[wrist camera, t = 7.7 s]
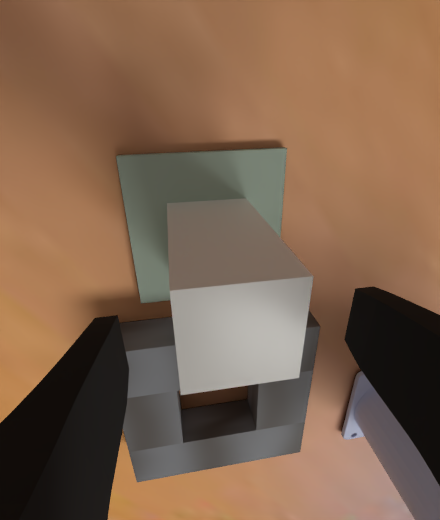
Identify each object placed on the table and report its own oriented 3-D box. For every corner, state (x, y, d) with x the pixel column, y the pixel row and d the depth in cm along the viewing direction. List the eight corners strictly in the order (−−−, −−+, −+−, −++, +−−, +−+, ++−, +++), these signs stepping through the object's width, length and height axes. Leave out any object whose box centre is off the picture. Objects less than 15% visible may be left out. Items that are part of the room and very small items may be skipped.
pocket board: (302, 301, 20) (320, 326, 18) (288, 421, 25) (299, 451, 23) (110, 324, 18) (103, 354, 16) (139, 447, 24) (137, 482, 22)
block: (246, 198, 16) (313, 276, 9) (244, 267, 17) (299, 377, 10) (166, 203, 15) (169, 290, 8) (173, 273, 17) (180, 395, 10)
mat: (284, 147, 15) (286, 148, 15) (274, 285, 19) (276, 288, 19) (117, 155, 14) (115, 156, 14) (141, 299, 18) (141, 303, 17)
